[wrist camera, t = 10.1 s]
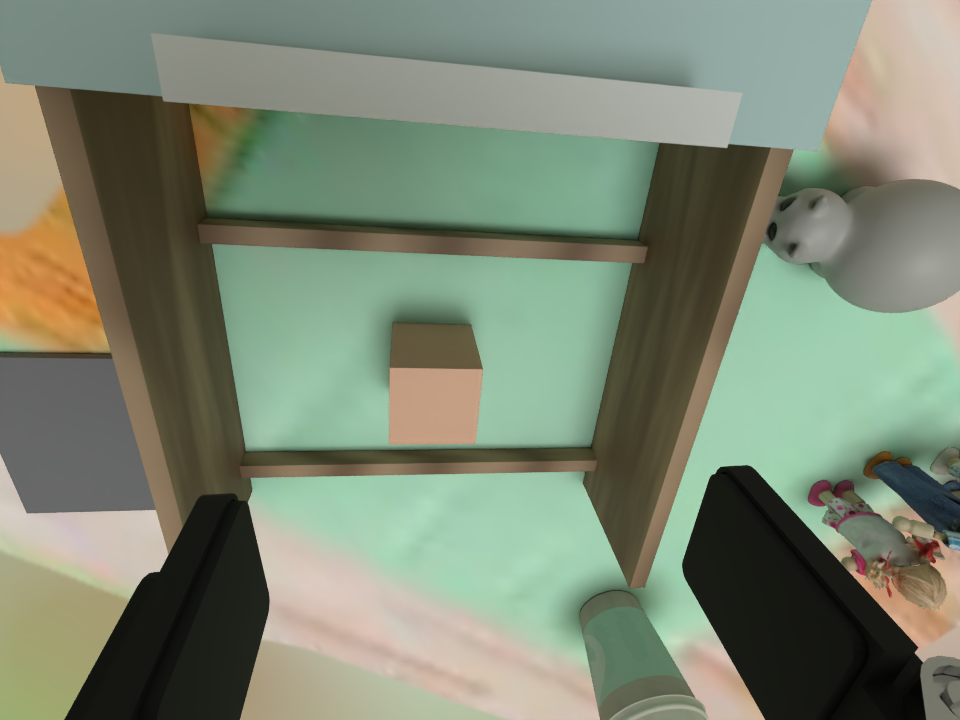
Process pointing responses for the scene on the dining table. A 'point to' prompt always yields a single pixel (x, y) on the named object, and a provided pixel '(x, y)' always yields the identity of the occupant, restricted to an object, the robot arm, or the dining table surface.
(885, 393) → the dining table surface
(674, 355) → the wooden shelf frame
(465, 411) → the terracotta block
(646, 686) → the coffee cup
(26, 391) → the rubber mat
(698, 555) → the robot arm
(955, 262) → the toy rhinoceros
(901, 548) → the doll family
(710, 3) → the sliding cover
